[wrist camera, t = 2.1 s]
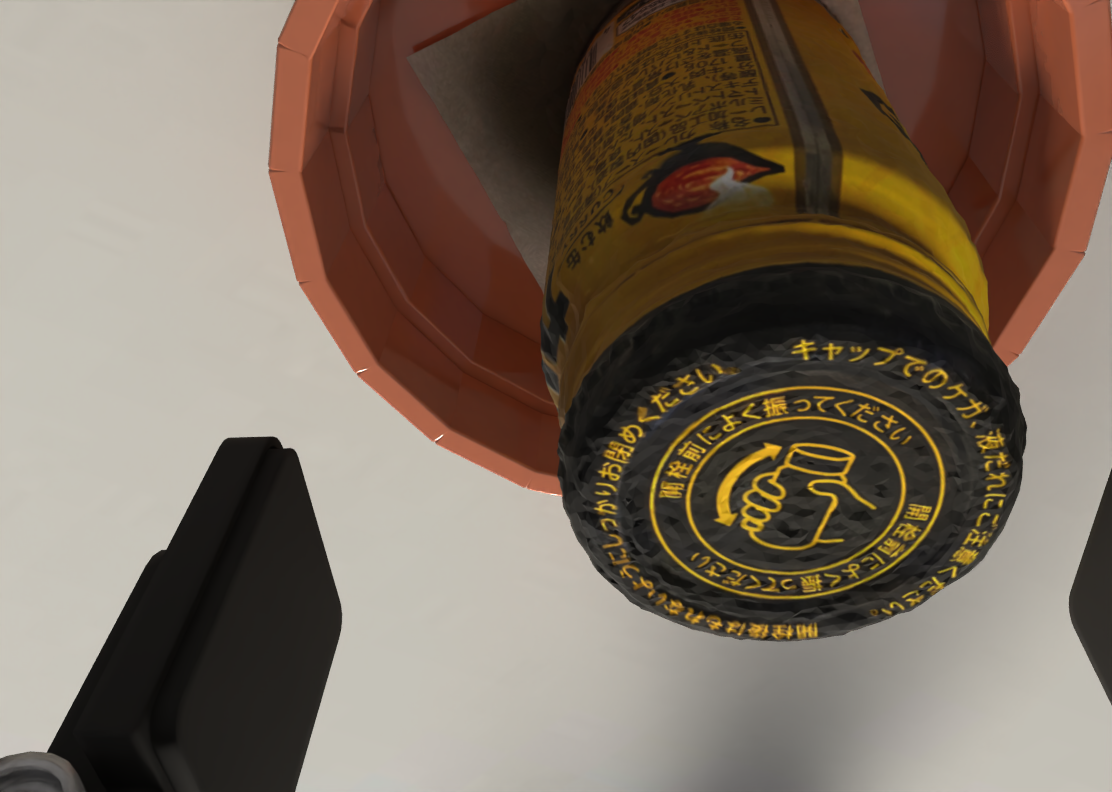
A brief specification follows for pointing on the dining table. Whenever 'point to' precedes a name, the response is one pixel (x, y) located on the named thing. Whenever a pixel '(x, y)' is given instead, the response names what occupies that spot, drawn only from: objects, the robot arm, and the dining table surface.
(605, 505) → the condiment
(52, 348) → the dining table surface
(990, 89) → the dish
